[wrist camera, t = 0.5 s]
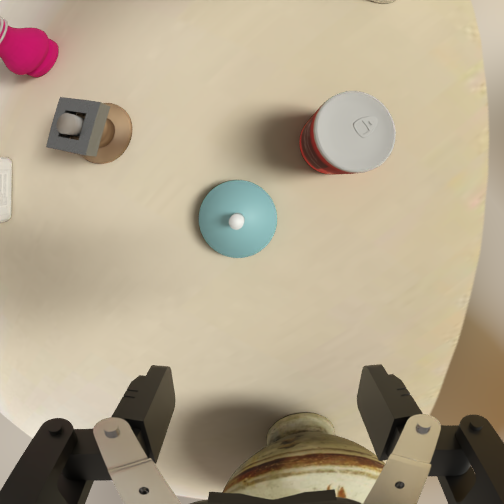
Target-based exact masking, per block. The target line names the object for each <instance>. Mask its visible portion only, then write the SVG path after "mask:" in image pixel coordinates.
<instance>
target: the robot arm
mask: <svg viewBox="0 0 504 504" xmlns="http://www.w3.org/2000/svg"><path fill="white" fill-rule="evenodd" d="M370 1H373V2H377V3H392V2H394V1H396V0H370ZM357 405H358V409H359V411H360V414H361V416H362V419H363V422H364V424H365V427H366V429H367V432H368V434H369V437H370V439H371V442H372V445H373V447H374V450H375V452H376V455H377V458H378V460H379V461H382V460H387V462H386V464H385V466H384V467H383V469H382V471H381V473H380V475H379V477H378V478H377V480H376V482H375V484H374V486H373V487H372V489H371V491H370V492H369V494H368V496H367V497H366V499H365V501H364V502H363V504H417V502H418V499H419V497H420V495H421V492H422V489H423V487H424V484H425V482H426V479H427V476H437V477H438V480H439V482H440V484H441V487H442V489H443V492H444V494H445V496H446V499H447V501H448V504H504V443H503V442H502V440H501V439H500V437H499V436H498V434H497V433H496V431H495V430H494V428H493V427H492V426H491V424H490V423H489V422H488V420H487V419H485V418H484V417H482V416H479V415H468V416H466V417H464V418H463V419H462V420H461V422H460V424H459V426H442V425H440V423H439V421H438V420H437V419H436V418H434V417H432V416H430V415H426V414H422V412H421V410H420V409H419V407H418V406H417V404H416V402H415V401H414V399H413V398H412V396H411V395H410V393H409V391H408V390H407V389H406V387H405V385H404V384H403V382H402V381H401V380H400V379H399V378H397V377H396V376H395V375H393V374H391V375H388V374H387V372H386V370H385V369H384V367H383V366H382V365H381V364H380V365H369V366H364V367H363V370H362V374H361V379H360V384H359V389H358V394H357ZM174 408H175V392H174V386H173V380H172V373H171V369H170V367H168V366H155V365H152V366H151V368H150V369H149V371H148V373H147V375H146V376H141V375H140V376H138V377H137V378H136V379H134V380H133V381H132V382H131V383H130V385H129V387H128V389H127V391H126V392H125V394H124V397H122V399H121V401H120V403H119V404H118V406H117V408H116V410H115V412H114V413H113V415H112V417H111V418H106V419H103V420H101V421H99V422H98V423H97V424H96V425H95V426H94V429H74V428H73V426H72V424H71V423H70V422H69V421H68V420H65V419H61V418H55V419H51V420H48V421H46V422H45V423H44V424H43V425H42V426H41V427H40V429H39V430H38V432H37V433H36V435H35V436H34V438H33V439H32V441H31V442H30V444H29V446H28V447H27V449H26V450H25V452H24V453H23V455H22V456H21V458H20V460H19V461H18V463H17V465H16V466H15V468H14V469H13V471H12V473H11V474H10V476H9V478H8V479H7V481H6V482H5V484H4V486H3V488H2V489H1V491H0V504H85V502H86V499H87V497H88V494H89V492H90V489H91V486H92V484H93V481H94V480H112V481H113V483H114V485H115V487H116V489H117V492H118V494H119V495H120V498H121V500H122V502H123V503H124V504H181V502H180V501H179V500H178V498H177V497H176V495H175V494H174V492H173V491H172V490H171V488H170V487H169V485H168V484H167V482H166V481H165V479H164V478H163V476H162V475H161V473H160V471H159V470H158V468H157V467H156V465H155V464H154V463H156V462H157V459H158V456H159V453H160V450H161V447H162V444H163V441H164V438H165V435H166V432H167V429H168V426H169V423H170V420H171V417H172V414H173V411H174ZM471 466H472V467H471ZM472 468H473V469H472ZM473 470H474V471H473ZM474 472H475V473H474ZM190 504H362V503H360V502H358V501H355V500H351V499H348V498H342V497H336V493H335V489H331V490H322V491H311V492H303V493H299V494H295V495H291V496H287V497H283V498H279V499H265V498H260V497H255V496H250V495H245V494H241V493H220V492H209V497H208V500H202V501H197V502H194V503H190Z"/></svg>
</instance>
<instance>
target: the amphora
mask: <svg viewBox="0 0 504 504" xmlns="http://www.w3.org/2000/svg"><path fill="white" fill-rule="evenodd" d="M266 438H267V447H265V448H264V449H262V450H261V451H259V452H258V453H256V454H255V455H254V456H252V457H251V458H250V459H248V460H247V461H246V462H245V463H244V464H243V465H241V466H240V467H239V468H238V469H237V470H236V471H235V473H234V474H233V475H232V477H231V478H230V480H229V481H228V483H227V485H226V486H225V488H224V490H223V492H222V493H241V494H245V495H250V496H255V497H260V498H265V499H279V498H283V497H287V496H291V495H295V494H299V493H303V492H311V491H322V490H331V489H335V493H336V497H342V498H348V499H351V500H355V501H358V502H360V503H362V504H363V502H364V501H365V499H366V497H367V496H368V494H369V492H370V491H371V489H372V487H373V486H374V484H375V482H376V480H377V478H378V477H379V475H380V473H381V471H382V469H383V467H384V466H385V463H384V462H383V461H379V460H378V458H377V456H376V455H375V454H374V453H372V452H371V451H369V450H368V449H366V448H364V447H363V446H361V445H359V444H357V443H355V442H353V441H350V440H348V439H345V438H342V437H338V436H335V433H334V427H333V425H332V423H331V422H330V421H329V420H328V419H327V418H325V417H323V416H321V415H318V414H315V413H298V414H293V415H289V416H287V417H284V418H282V419H280V420H279V421H277V422H276V423H275V424H274V425H273V426H272V427H271V428H270V429H269V431H268V434H267V437H266Z"/></svg>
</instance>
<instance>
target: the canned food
mask: <svg viewBox="0 0 504 504" xmlns="http://www.w3.org/2000/svg"><path fill="white" fill-rule="evenodd" d="M395 134H396V132H395V125H394V122H393V119H392V116H391V114H390V113H389V111H388V109H387V108H386V107H385V106H384V105H383V103H381V102H380V101H379V100H378V99H376V98H375V97H373V96H371V95H369V94H366V93H364V92H358V91H346V92H342V93H339V94H337V95H335V96H333V97H331V98H330V99H328V100H327V101H326V102H324V104H322V106H321V107H320V108H319V109H318V110H317V111H316V112H315V114H314V115H313V116H312V117H311V118H310V119H309V121H308V122H307V123H306V124H305V126H304V127H303V129H302V131H301V135H300V143H299V144H300V150H301V153H302V156H303V157H304V159H305V161H306V162H307V163H308V164H309V165H310V166H311V167H312V168H313V169H315V170H317V171H319V172H321V173H325V174H353V173H362V172H367V171H370V170H372V169H374V168H376V167H378V166H380V165H381V164H382V163H383V162H384V161H386V159H387V158H388V157H389V155H390V154H391V152H392V149H393V147H394V143H395Z"/></svg>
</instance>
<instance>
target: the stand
mask: <svg viewBox="0 0 504 504" xmlns="http://www.w3.org/2000/svg"><path fill="white" fill-rule="evenodd" d="M103 104H106V105H108V106H110V110H109V113H108V116H107V120H106V123H105V126H104V130H103V133H102V137H101V141H100V144H99V148H98V152H97V156H96V157H95V156H86V155H82V156H83V157H84V158H85V159H86V160H88V161H90V162H93V163H100V164H104V163H109V162H112V161H114V160H116V159H117V158H118V157H120V156H121V155H122V154H123V153H124V151H125V150H126V149H127V147H128V145H129V143H130V140H131V136H132V123H131V119H130V117H129V115H128V113H127V112H126V111H125V110H124V109H123V108H121V107H119V106H117V105H115V104H112V103H103ZM85 116H86V115H81V114H77V115H72V114H69V113H64V114H62V115H61V116H60V117H59V119H58V121H57V130H58V132H60V133H62V134H68V135H70V138H71V139H75V140H79V137H80V133H81V130H82V126H83V123H84V119H85Z"/></svg>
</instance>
